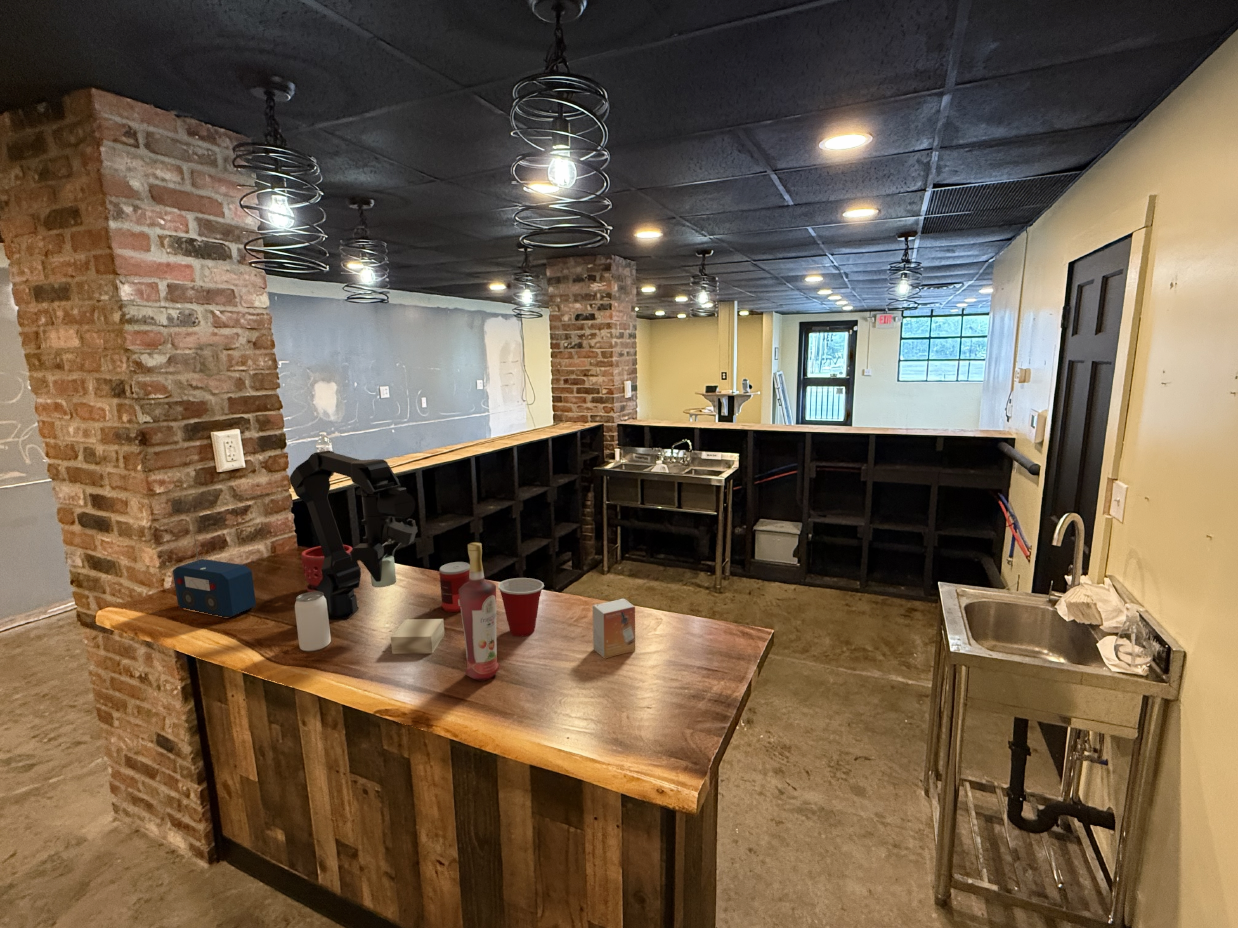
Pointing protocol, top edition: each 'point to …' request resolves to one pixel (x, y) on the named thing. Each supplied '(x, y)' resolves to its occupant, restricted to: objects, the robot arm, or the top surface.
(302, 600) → the can
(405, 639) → the beech block
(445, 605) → the canned food
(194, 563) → the radio
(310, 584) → the plant pot
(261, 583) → the top surface
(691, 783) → the top surface
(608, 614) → the small box
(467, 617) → the liquor
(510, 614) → the plastic cup
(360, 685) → the top surface
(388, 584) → the grey-green rounded piece
